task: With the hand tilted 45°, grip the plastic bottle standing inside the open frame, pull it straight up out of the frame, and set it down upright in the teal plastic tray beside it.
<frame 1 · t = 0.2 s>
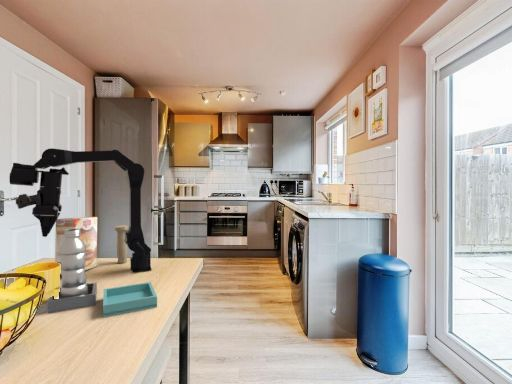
hand: (46, 235, 96), 16 cm above the table, tool pointing down, fingers open, 7 cm apart
coffeecake box: (77, 271, 109), on the table, touching gripper
handle: (122, 263, 121), on the table
open frame: (74, 301, 81), on the table
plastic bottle: (74, 302, 81), resting in open frame
tray: (129, 302, 80), on the table
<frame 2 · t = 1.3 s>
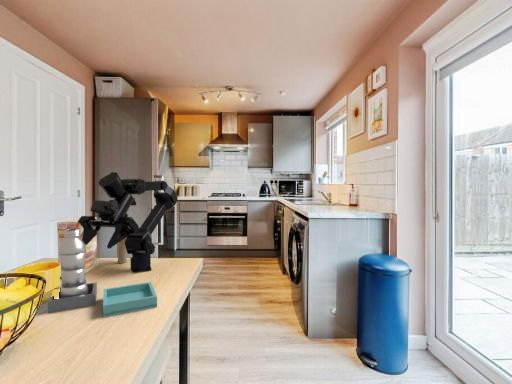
hand: (95, 247, 88), 13 cm above the table, tool tilted 45°, fingers open, 9 cm apart
coffeecake box: (79, 272, 109), on the table
everything else where it was.
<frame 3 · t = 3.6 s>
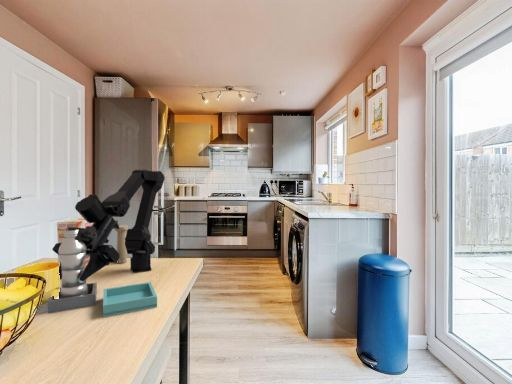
hand: (69, 279, 79), 7 cm above the table, tool tilted 45°, fingers open, 7 cm apart
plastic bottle: (74, 302, 81), resting in open frame, touching gripper
everything else where it was.
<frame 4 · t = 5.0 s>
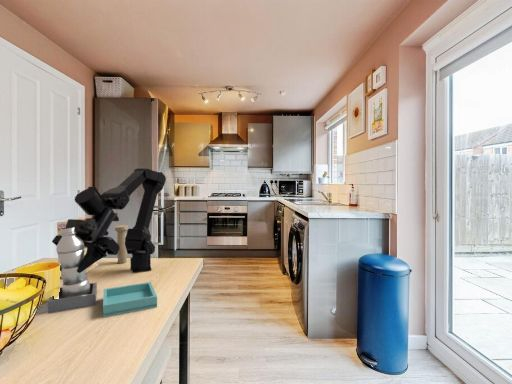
hand: (69, 271, 80), 9 cm above the table, tool tilted 45°, fingers closed on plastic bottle, 5 cm apart
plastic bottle: (77, 298, 82), point 1 cm above the table, touching gripper
everything else where it was.
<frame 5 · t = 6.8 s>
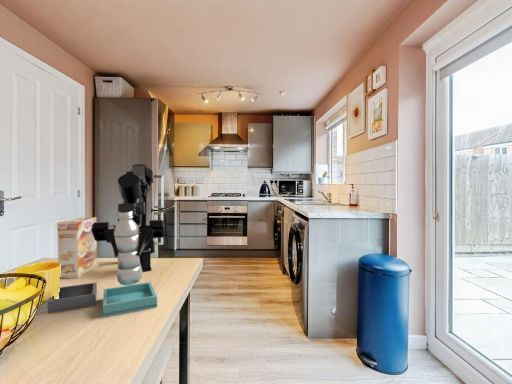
hand: (127, 255, 79), 13 cm above the table, tool tilted 45°, fingers closed on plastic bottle, 5 cm apart
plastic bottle: (130, 283, 81), point 5 cm above the table, touching gripper
everything else where it was.
when the fingers open (9 cm above the table, at t = 8.2 s): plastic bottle stays where it is, resting on tray.
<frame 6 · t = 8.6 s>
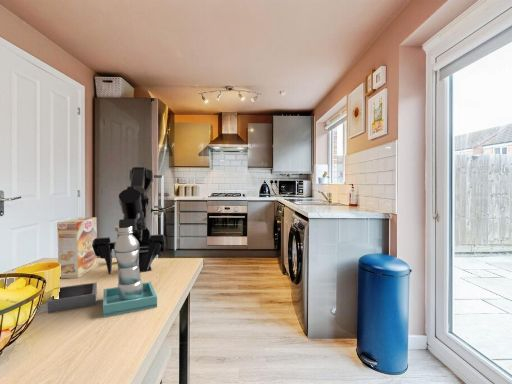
hand: (128, 271, 79), 9 cm above the table, tool tilted 45°, fingers open, 9 cm apart
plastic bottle: (131, 298, 81), point 1 cm above the table, touching gripper, tray
everything else where it was.
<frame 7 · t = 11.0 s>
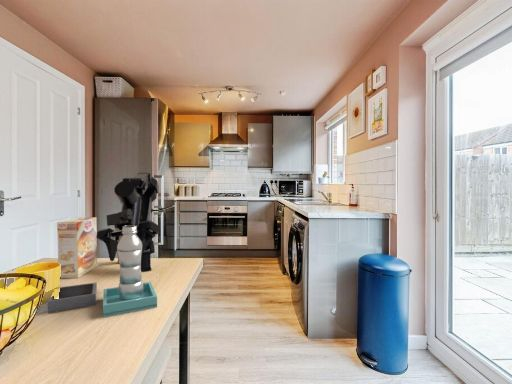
hand: (125, 258, 89), 10 cm above the table, tool tilted 30°, fingers open, 9 cm apart
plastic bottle: (131, 299, 81), point 1 cm above the table, touching tray
everything else where it was.
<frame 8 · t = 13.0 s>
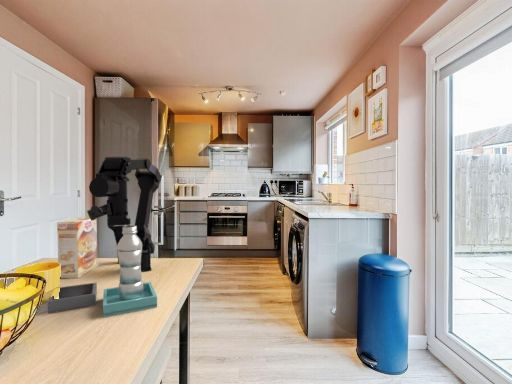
hand: (118, 244, 94), 13 cm above the table, tool pointing down, fingers open, 9 cm apart
nothing on the table moved.
at the end: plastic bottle inside the target area on the tray (0.9 cm from its centre), point 0.6 cm above the tray's base; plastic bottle tilted 0°; the gripper is holding nothing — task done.
